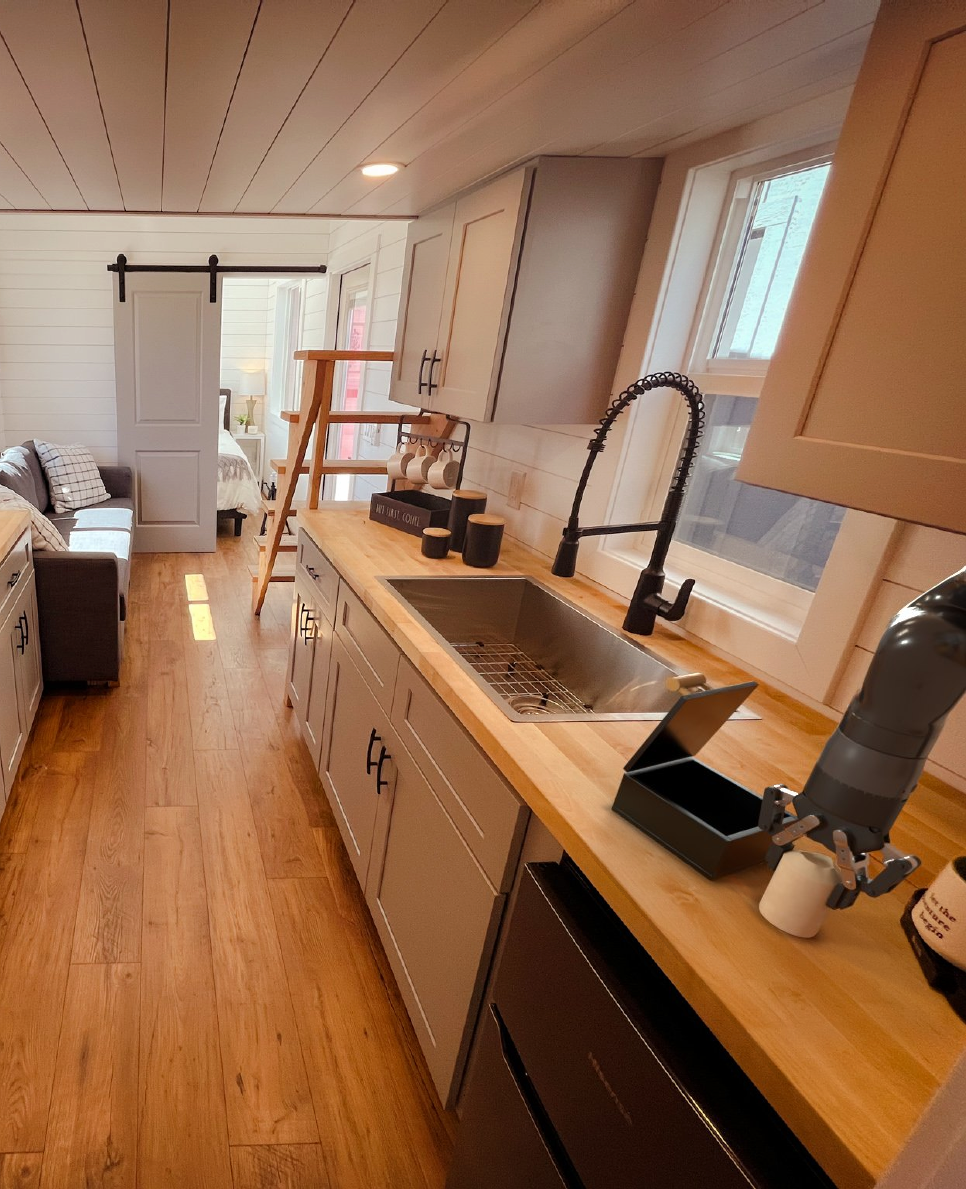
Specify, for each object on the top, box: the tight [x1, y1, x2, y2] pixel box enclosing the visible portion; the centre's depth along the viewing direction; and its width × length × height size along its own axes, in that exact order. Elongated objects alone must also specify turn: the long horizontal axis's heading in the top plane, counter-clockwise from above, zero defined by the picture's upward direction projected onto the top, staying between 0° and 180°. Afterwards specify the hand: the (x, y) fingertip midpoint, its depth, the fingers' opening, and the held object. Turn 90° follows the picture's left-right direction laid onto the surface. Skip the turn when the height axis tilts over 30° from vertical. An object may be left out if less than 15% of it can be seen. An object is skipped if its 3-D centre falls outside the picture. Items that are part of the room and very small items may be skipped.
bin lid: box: [622, 672, 760, 773], centre depth 95 cm, size 16×15×5 cm
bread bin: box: [610, 756, 799, 882], centre depth 93 cm, size 15×15×7 cm
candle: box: [758, 849, 842, 939], centre depth 78 cm, size 6×6×10 cm
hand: (804, 886), depth 78 cm, fingers closed on candle, 5 cm apart
